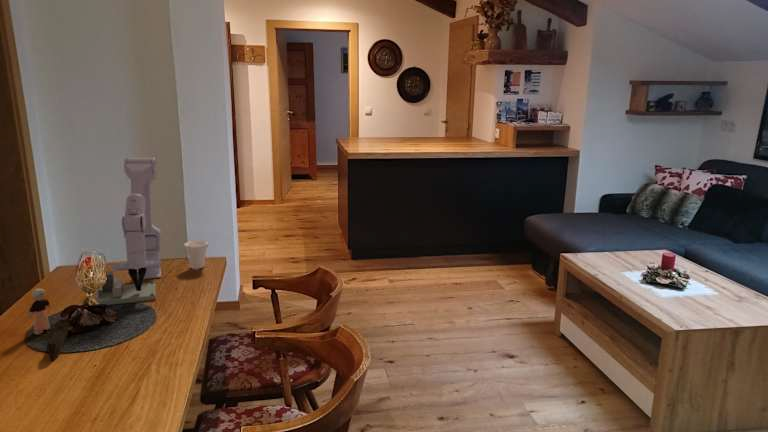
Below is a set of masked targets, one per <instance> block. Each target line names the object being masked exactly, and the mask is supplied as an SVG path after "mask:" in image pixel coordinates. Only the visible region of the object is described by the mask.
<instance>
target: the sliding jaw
mask: <svg viewBox="0 0 768 432" xmlns="http://www.w3.org/2000/svg"><path fill="white" fill-rule="evenodd" d="M123 285H124V282H123V277H114V282H113V288H112V291H113V297H121V296H122V290H123Z"/></svg>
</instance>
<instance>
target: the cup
mask: <svg viewBox="0 0 768 432" xmlns="http://www.w3.org/2000/svg"><path fill="white" fill-rule="evenodd" d="M208 246H209V241H206V240H191V241H187V242H185V243H183V244H182V247H184V249H186V251H187V256H188V257H189V259H188V260H189V269H191V268H192V269H191V270H200V269H199V268H202V267H204V266H205V267H206V259H205V258H206V253H207V249H208ZM205 267H204V268H205ZM202 269H203V268H202Z"/></svg>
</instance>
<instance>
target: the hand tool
mask: <svg viewBox="0 0 768 432" xmlns="http://www.w3.org/2000/svg"><path fill="white" fill-rule="evenodd" d="M68 320H69V319H60V320H58V321H57V322H55V325H54V326H55V329H53V330H52V335H51V337H50V338H49V339H48V341H47V352H48V356H49V358H50V361H51V362H53V361H55V360H56V359H57V358H58V357H59V355H60V354H61V353H62V348H63V346H64V343H65V341H66V338H68V334H69V332H68V328H69V323H68Z"/></svg>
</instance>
